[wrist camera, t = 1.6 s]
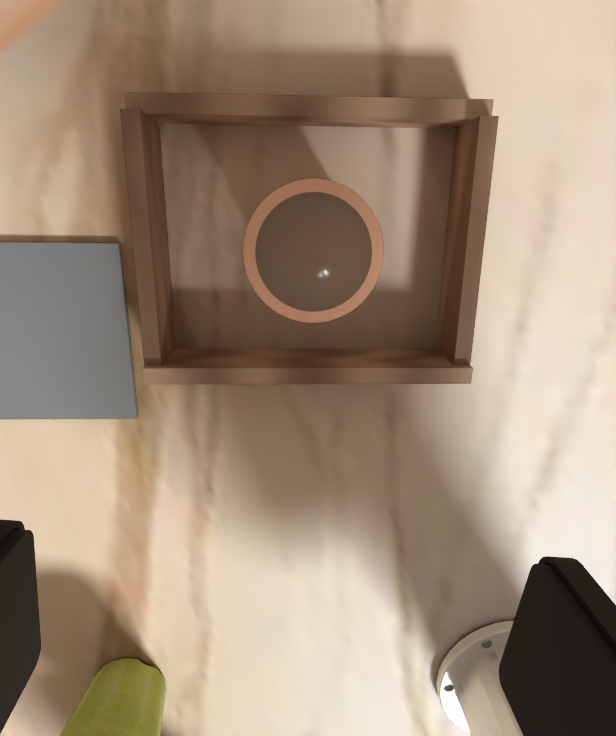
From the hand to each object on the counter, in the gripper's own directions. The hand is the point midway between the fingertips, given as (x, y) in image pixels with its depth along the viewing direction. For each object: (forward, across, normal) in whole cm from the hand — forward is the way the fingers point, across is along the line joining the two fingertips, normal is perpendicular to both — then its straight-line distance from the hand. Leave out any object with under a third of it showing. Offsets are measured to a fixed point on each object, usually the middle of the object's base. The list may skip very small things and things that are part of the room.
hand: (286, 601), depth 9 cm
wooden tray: (+25, -1, -5) cm, 26 cm away
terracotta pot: (+25, -1, -5) cm, 26 cm away
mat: (+25, +16, +3) cm, 30 cm away
